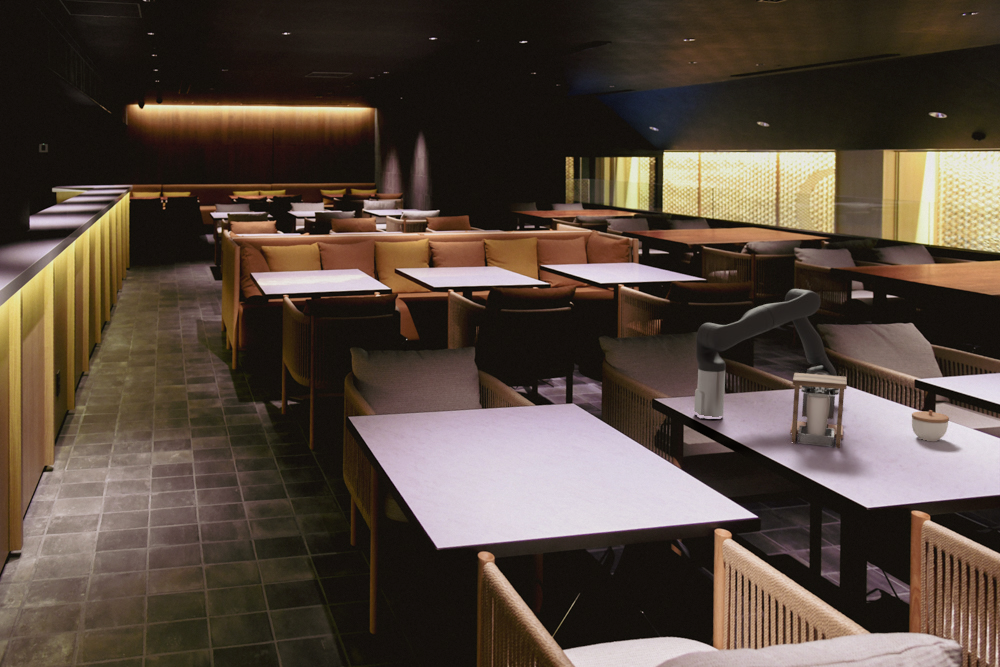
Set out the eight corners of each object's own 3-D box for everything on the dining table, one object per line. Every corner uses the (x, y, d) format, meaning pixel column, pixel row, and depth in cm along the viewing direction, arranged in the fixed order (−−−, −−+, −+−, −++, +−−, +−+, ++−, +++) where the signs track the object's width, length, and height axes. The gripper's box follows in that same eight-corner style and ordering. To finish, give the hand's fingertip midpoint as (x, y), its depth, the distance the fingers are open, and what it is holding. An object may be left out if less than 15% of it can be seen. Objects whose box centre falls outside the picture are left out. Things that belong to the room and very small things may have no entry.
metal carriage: (833, 446, 267) (835, 413, 266) (797, 442, 271) (799, 410, 269) (833, 426, 291) (835, 395, 289) (800, 422, 295) (802, 392, 293)
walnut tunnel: (842, 449, 266) (846, 384, 263) (788, 443, 272) (792, 379, 268) (841, 439, 277) (846, 376, 273) (790, 434, 282) (794, 372, 279)
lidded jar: (912, 441, 274) (915, 413, 273) (907, 432, 285) (909, 405, 283) (950, 444, 271) (952, 415, 270) (943, 435, 282) (945, 407, 280)
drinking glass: (823, 438, 277) (826, 393, 275) (829, 444, 270) (832, 398, 268) (802, 438, 278) (805, 392, 275) (807, 444, 271) (810, 397, 269)
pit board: (842, 439, 277) (842, 434, 277) (790, 433, 283) (790, 429, 282) (842, 429, 288) (842, 425, 288) (791, 424, 294) (792, 420, 293)
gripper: (801, 372, 313) (799, 382, 297) (840, 375, 308) (840, 385, 292) (800, 392, 314) (798, 404, 298) (839, 395, 309) (839, 407, 293)
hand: (819, 395), depth 295 cm, fingers closed
